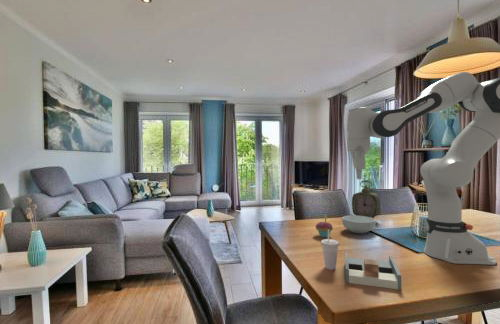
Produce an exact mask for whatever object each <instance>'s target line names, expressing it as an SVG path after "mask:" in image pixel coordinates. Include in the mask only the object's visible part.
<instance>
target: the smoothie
mask: <svg viewBox="0 0 500 324" xmlns="http://www.w3.org/2000/svg"><path fill="white" fill-rule="evenodd" d="M320 243H321V246H322V253H323V260H324V267H325V269H327V270H329V271H331V270H336V269H337V262H338V260H337V258H338V251H339V246H340V242H339V240H337V239H333V238H330V236H329V230H328V237H327V238H326V239H325V238H324V239H321V242H320Z"/></svg>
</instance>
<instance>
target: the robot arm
mask: <svg viewBox="0 0 500 324" xmlns="http://www.w3.org/2000/svg"><path fill="white" fill-rule="evenodd" d="M456 104H458V105H459V107H460V108H461V109H462V110H464V111H466V112H469V113H475V115H474V117H473V119H472V121H470V122H469V123H468V124H467V125H466V126H465V127H464V129H463V130H461V131H460V133H459V134H457V136H455V138H454V139H453V140H452V141H451V143H450V144H451V145H450V147H449V148H448V151H447V153H446V154H445V155H444V156H442V158H431V159H429V160H427V161H426V162H424V163H422V164H421V166H420V170H419V171H420V175H421V177H422V179H423V184H424V189H425V193H426V194H425V195H426V200H427V218H426V221H425V222H426V223H425V224H426V225H425V228H426V232H427V233H426V240H425V241H426V242H425V245H424V248H423V253H424V254H426V255H428V256H430V257H432V258H435V259H439V260H442V261H445V262H447V263H450V264H458V265H459V264H460V265H461V264H463V265H493V266H495V265H497V259H496V258H495V257H494V256H493V255H491V254H489V253H488V248H487V245H486V244H485V243H484V242H483V241H482V240H480V239H479V238H477V237H476V236H475V235H474V234H472V233H470V232H469V231H472V230H473V229H474V227H473V225H472V224H469V223H466V222H465V221H463V220H462V217H463V216H462V214H463V213H462V210H463V209H462V200H461V198H460V197H459V195H458V192H457V188H461V187H465V186H467V185H468V184H470V183H471V182H472V180H473V178H474V170H475V168H476V166H477V165H478V163H479V161H480V160H481V159H482V157H483V156H484V155H485V154H486V153H487V152H488V151H489V150H490V149H491V148H492V147H493V146H494V145H495V144H496V143H497V142H498V141H499V140H500V77H498V78H494V79H490V80H486V81H482V82H480V81H477V78H476V77H475V76H474V75H473V74H472V73H470V72H467V71H461V72H458V73H454V74H451V75H449V76H446V77H444V78H442V79H440V80H438V81H436V82H434V83H432V84H430V85H429V86H428V87H426V88H425V89H423V90H422V91H421V92H420V93H419V96H418V97H417V98H416V99H414V100H413V101H411V102H409V103H407V104H405V105H403V106H402V107H398V108H396V109H394V108H393V109H385V110H383V111H381V112H376V111H374V110H371V109H370V108H369V107H367V106H360V107H355V108H353V109H352V110H350V111H349V112H348V114H347V122H346V123H347V125H346V128H347V129H346V130H347V133H348V135H347V141H346V142H347V152H350V155H351V159H352V166H353V167H354V169H355V172H356V179H357V180H362V173H363V170H365V169H366V155H368V151H370V150H371V137H373V138H377V139H382V138H391V137H395V136H396V135H398V134H399V133H401V131H402V130H403V129H404V128H405V126H406V125H408V124H409V123H410V122H413V121H414V120H416V119H418V118H420V117H422V116H424V115H426V114H428V113H429V114H433V113H438V112H441V111H443V110H446V109H448V108H450V107H452V106H455V105H456ZM468 230H469V231H468Z"/></svg>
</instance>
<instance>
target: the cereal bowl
mask: <svg viewBox="0 0 500 324" xmlns="http://www.w3.org/2000/svg"><path fill="white" fill-rule="evenodd" d="M341 219H342V220H341V222H342V223H341V224H342V225H343V226H344V228H345V229H347V230H348V231H350V233H351V232H352V233H355V234H366V233H367V232H368V233H369V232H370V231H373V230H374V229H375V227H376V224H377V223H376V222H377V221H376V219H375V218H374V219H373V218H372V217H366V216H357V215H344V216H342V217H341Z"/></svg>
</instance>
